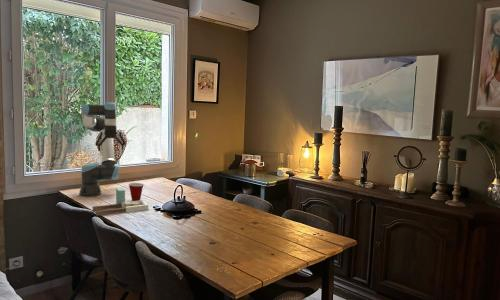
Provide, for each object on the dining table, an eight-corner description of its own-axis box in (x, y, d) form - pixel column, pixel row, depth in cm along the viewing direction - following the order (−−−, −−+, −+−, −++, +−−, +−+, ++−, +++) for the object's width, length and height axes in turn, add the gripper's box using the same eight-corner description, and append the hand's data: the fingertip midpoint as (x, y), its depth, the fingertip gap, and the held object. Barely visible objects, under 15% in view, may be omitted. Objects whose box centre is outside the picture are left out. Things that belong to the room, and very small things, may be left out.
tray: (121, 206, 257) (121, 202, 257) (142, 204, 265) (142, 200, 264) (126, 212, 246) (126, 207, 246) (148, 209, 254) (148, 204, 253)
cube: (131, 208, 255) (131, 202, 254) (137, 207, 257) (137, 201, 256) (132, 209, 252) (132, 204, 251) (139, 209, 254) (138, 203, 253)
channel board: (92, 210, 247) (92, 206, 247) (121, 206, 257) (121, 203, 257) (96, 215, 237) (96, 211, 236) (126, 212, 246) (126, 208, 246)
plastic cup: (146, 200, 275) (146, 184, 273) (132, 202, 268) (131, 186, 267) (140, 197, 283) (140, 181, 282) (126, 199, 276) (126, 183, 275)
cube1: (124, 208, 254) (124, 202, 254) (130, 207, 256) (130, 202, 256) (126, 210, 251) (126, 204, 250) (132, 209, 253) (132, 203, 252)
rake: (116, 203, 264) (116, 188, 263) (122, 203, 266) (122, 187, 265) (119, 206, 258) (118, 190, 256) (125, 206, 260) (124, 190, 258)
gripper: (92, 125, 256) (92, 156, 258) (130, 125, 269) (130, 154, 272) (90, 124, 262) (90, 155, 265) (127, 124, 275) (127, 153, 278)
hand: (110, 155), depth 268 cm, fingers open, 13 cm apart
